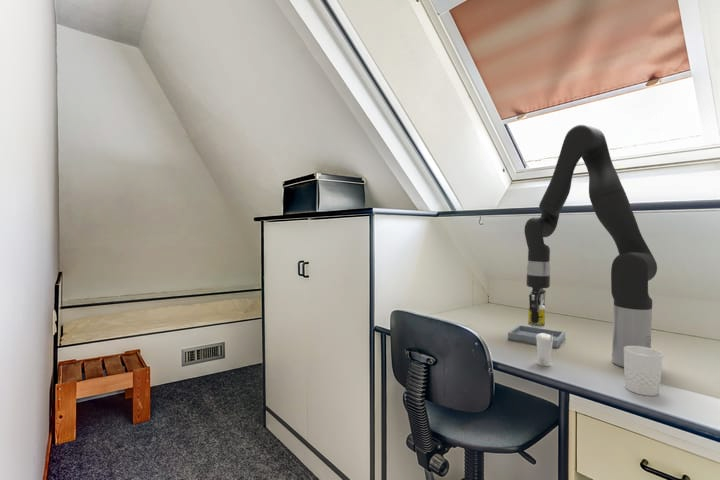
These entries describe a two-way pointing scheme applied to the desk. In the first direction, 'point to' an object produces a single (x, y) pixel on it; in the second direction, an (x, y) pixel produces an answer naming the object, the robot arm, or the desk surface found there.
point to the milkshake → (544, 348)
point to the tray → (534, 335)
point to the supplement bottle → (541, 317)
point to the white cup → (642, 370)
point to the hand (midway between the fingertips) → (536, 320)
